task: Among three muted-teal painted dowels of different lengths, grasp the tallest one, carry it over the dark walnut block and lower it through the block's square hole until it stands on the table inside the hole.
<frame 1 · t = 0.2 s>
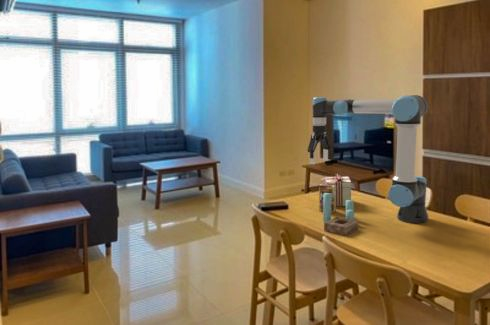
hand: (319, 162, 237), 28 cm above the table, fingers open, 13 cm apart
gift box: (335, 203, 253), on the table
short dowel: (349, 223, 215), on the table
walnut block: (341, 229, 206), on the table
long dowel: (327, 221, 219), on the table
medium dowel: (349, 219, 222), on the table
candy box: (327, 211, 238), on the table
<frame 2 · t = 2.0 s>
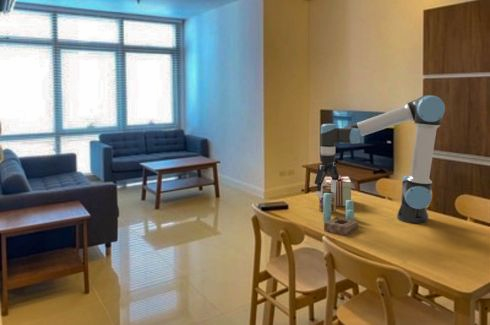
hand: (326, 194, 217), 15 cm above the table, fingers open, 13 cm apart
nothing on the table moved.
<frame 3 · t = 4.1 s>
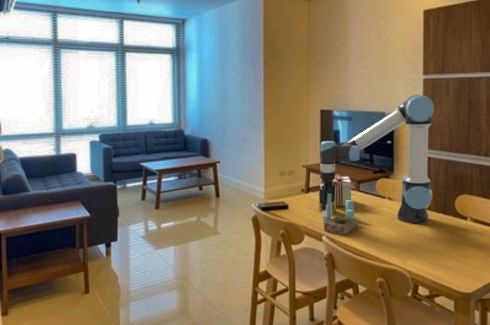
hand: (327, 214, 218), 4 cm above the table, fingers closed on long dowel, 4 cm apart
long dowel: (327, 221, 219), on the table, touching gripper
everything else where it was.
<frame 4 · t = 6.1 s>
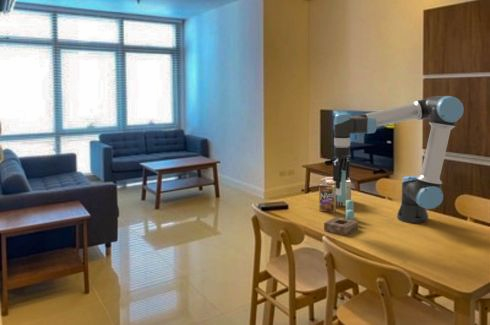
hand: (341, 193, 203), 18 cm above the table, fingers closed on long dowel, 4 cm apart
long dowel: (340, 201, 204), point 15 cm above the table, touching gripper
everything else where it was.
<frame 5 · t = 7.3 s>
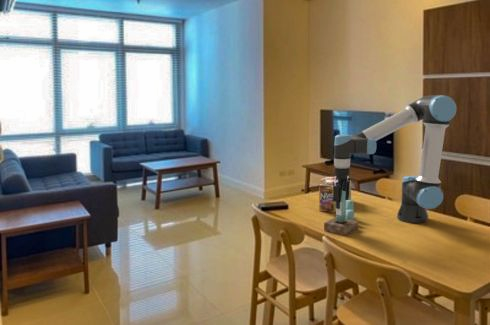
hand: (341, 213, 205), 8 cm above the table, fingers closed on long dowel, 4 cm apart
long dowel: (340, 220, 205), point 5 cm above the table, touching gripper
everything else where it was.
when the fingers open (6 cm above the table, at t = 8.0 s): long dowel drops 2 cm, resting in walnut block.
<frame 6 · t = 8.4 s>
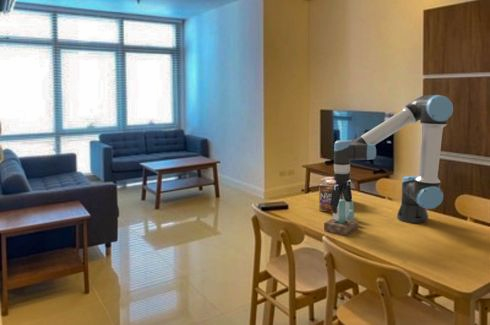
hand: (341, 216, 205), 7 cm above the table, fingers open, 10 cm apart
long dowel: (340, 229, 206), resting in walnut block
everything else where it was.
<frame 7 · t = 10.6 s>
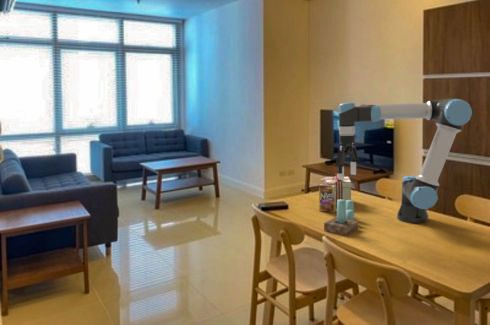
hand: (347, 177, 207), 25 cm above the table, fingers open, 13 cm apart
nothing on the table moved.
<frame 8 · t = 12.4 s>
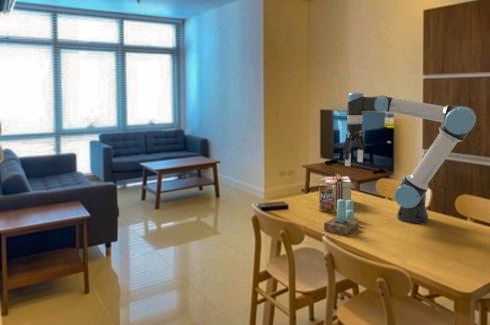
hand: (354, 163, 218), 30 cm above the table, fingers open, 13 cm apart
nothing on the table moved.
at the end: long dowel 0.0 cm off-centre on the walnut block, point 0.0 cm above the walnut block's base; long dowel tilted 0°; the gripper is holding nothing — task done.
